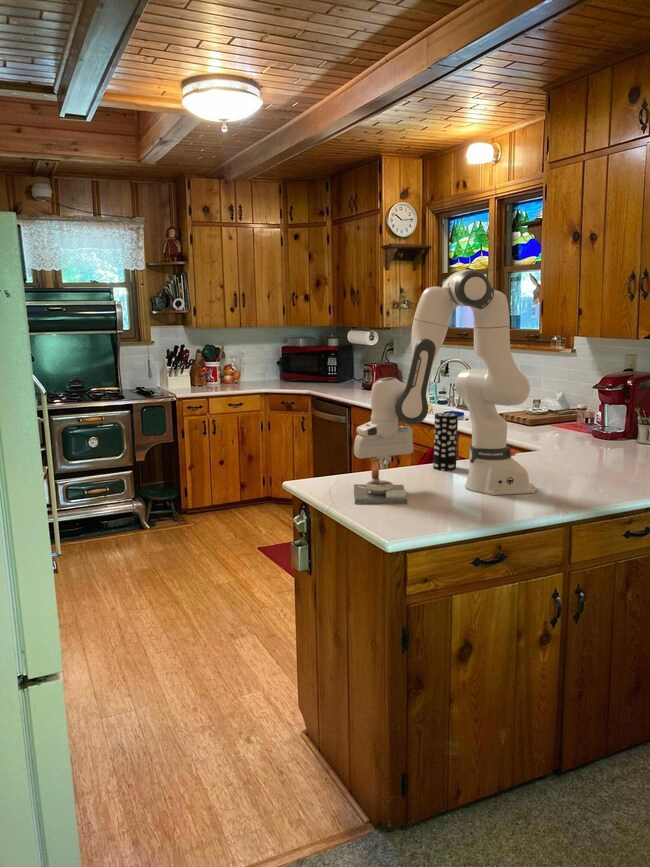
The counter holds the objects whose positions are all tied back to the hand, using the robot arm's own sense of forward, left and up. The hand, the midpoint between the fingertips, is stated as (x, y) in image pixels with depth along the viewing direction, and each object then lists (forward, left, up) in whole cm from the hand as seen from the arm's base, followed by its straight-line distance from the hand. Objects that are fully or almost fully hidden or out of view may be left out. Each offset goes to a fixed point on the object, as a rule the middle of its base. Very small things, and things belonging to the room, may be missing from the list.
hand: (383, 469), depth 229 cm
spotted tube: (-24, -29, -7) cm, 38 cm away
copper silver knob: (+2, +7, -5) cm, 9 cm away
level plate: (+2, +9, -7) cm, 12 cm away
